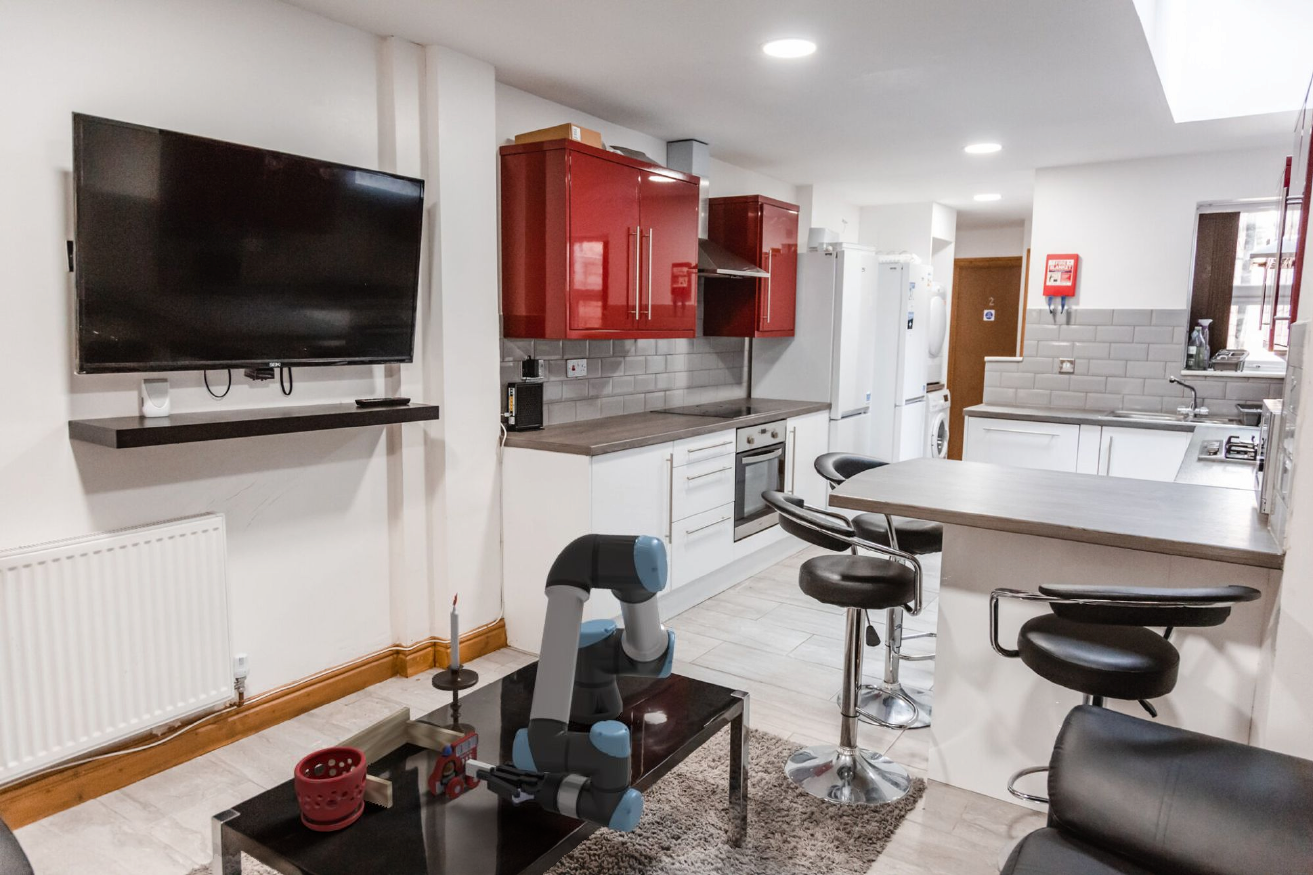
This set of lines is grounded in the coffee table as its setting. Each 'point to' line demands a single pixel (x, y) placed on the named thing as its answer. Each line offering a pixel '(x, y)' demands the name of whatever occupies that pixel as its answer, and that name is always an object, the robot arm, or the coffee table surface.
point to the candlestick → (455, 677)
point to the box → (393, 747)
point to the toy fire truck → (454, 767)
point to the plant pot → (331, 788)
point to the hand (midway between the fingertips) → (468, 766)
